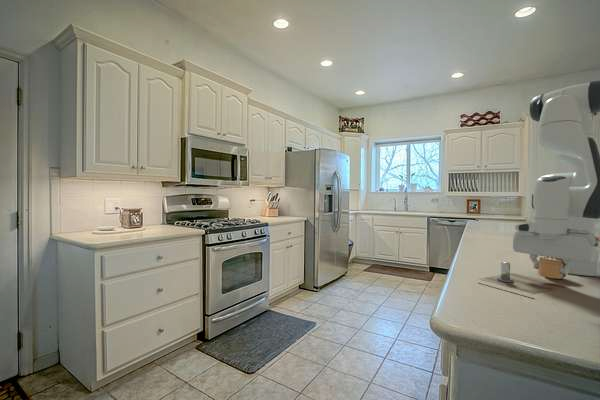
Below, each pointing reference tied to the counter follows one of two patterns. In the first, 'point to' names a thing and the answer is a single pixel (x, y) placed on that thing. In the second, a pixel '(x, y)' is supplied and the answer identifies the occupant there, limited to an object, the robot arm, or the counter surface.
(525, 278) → the board
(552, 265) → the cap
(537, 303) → the counter surface
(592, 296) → the counter surface
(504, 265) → the stud
